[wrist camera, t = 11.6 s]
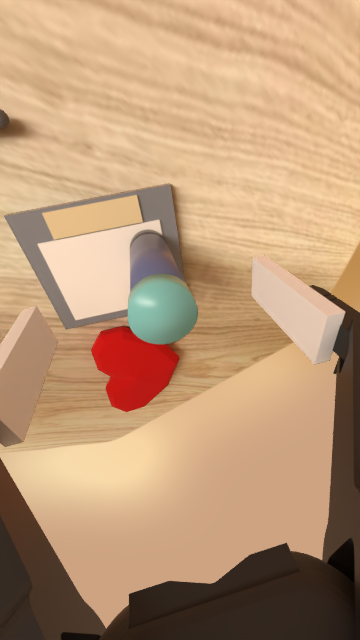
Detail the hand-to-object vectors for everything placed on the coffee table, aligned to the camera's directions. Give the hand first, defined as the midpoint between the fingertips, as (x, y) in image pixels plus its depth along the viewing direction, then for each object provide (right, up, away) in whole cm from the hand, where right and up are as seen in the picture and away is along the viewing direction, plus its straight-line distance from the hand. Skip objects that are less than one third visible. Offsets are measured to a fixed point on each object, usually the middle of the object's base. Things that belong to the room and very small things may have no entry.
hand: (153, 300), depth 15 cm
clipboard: (-5, +4, +9) cm, 12 cm away
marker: (-1, +6, +8) cm, 10 cm away
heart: (-4, -6, +17) cm, 19 cm away
